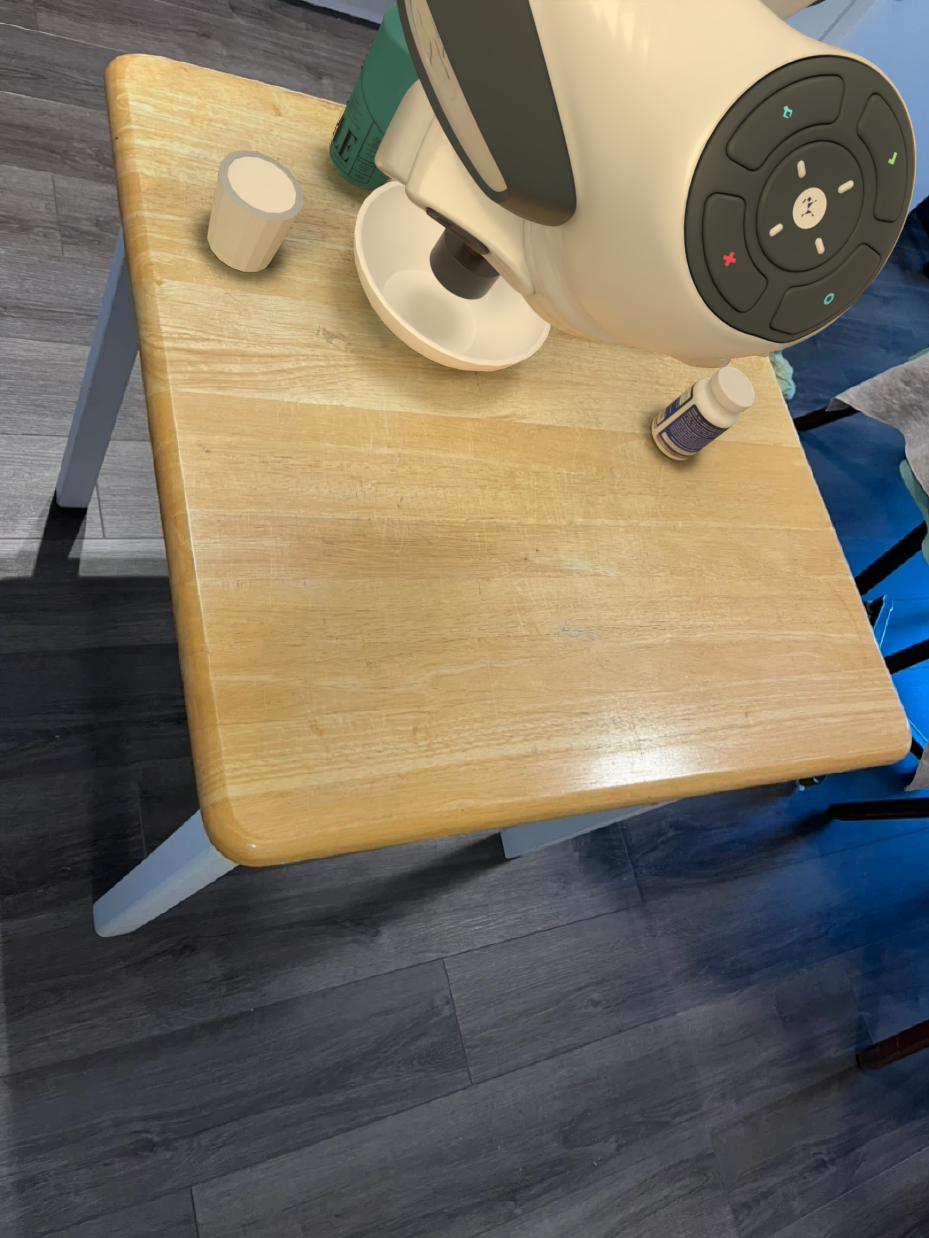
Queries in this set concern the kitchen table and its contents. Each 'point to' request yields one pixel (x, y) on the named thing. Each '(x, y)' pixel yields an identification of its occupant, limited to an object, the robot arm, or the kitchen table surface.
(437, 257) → the paper towel holder
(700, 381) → the pill bottle
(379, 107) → the beverage bottle
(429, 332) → the bowl
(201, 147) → the kitchen table surface
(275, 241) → the shot glass
